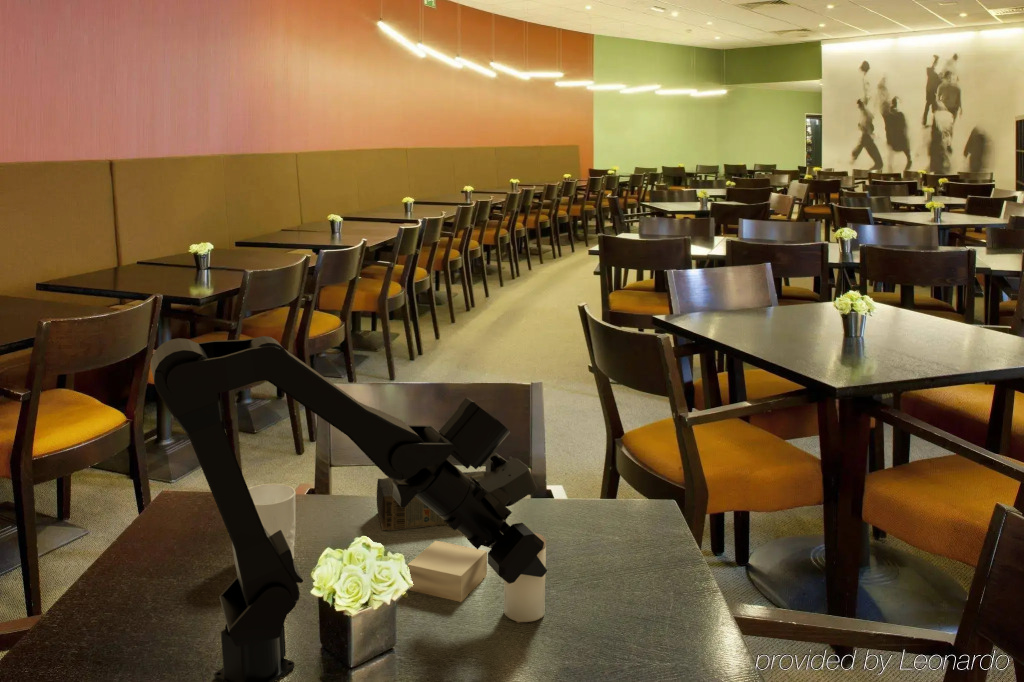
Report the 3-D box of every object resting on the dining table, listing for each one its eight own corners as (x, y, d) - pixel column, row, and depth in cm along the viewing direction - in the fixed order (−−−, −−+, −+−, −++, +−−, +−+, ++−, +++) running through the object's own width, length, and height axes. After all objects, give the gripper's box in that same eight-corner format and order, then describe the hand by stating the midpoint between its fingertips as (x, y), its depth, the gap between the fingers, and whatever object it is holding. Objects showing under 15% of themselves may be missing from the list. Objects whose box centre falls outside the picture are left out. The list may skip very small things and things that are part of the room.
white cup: (283, 574, 125) (280, 507, 123) (231, 568, 127) (227, 502, 125) (307, 549, 133) (304, 485, 131) (257, 544, 134) (254, 481, 132)
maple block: (461, 604, 118) (461, 576, 117) (407, 591, 121) (407, 564, 120) (486, 577, 125) (486, 551, 124) (435, 566, 128) (435, 540, 128)
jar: (513, 627, 112) (514, 552, 110) (497, 607, 117) (498, 535, 114) (551, 619, 114) (552, 545, 112) (534, 600, 119) (535, 529, 116)
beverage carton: (501, 521, 144) (502, 482, 142) (381, 534, 139) (380, 494, 137) (489, 502, 151) (489, 465, 150) (375, 514, 146) (373, 476, 145)
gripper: (528, 470, 100) (612, 545, 107) (469, 422, 117) (544, 489, 124) (462, 547, 99) (551, 618, 106) (412, 487, 116) (491, 552, 122)
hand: (534, 564), depth 114 cm, fingers closed on jar, 5 cm apart
